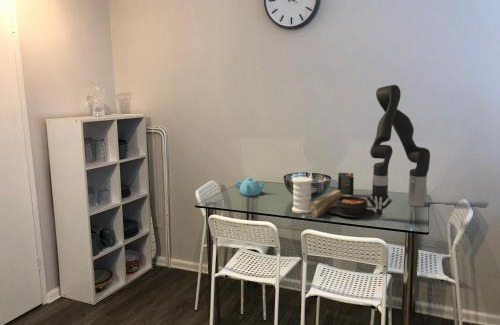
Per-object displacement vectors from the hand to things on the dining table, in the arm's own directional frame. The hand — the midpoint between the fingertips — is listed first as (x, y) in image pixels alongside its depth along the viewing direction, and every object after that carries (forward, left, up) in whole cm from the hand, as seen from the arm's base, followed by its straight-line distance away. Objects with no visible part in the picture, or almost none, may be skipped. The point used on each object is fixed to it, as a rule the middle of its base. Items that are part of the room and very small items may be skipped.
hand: (379, 215), depth 215 cm
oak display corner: (+22, -1, -2) cm, 22 cm away
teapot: (+86, -4, -2) cm, 86 cm away
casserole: (+15, 0, -2) cm, 15 cm away
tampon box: (+31, -28, -2) cm, 42 cm away
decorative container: (+41, +8, -2) cm, 42 cm away
